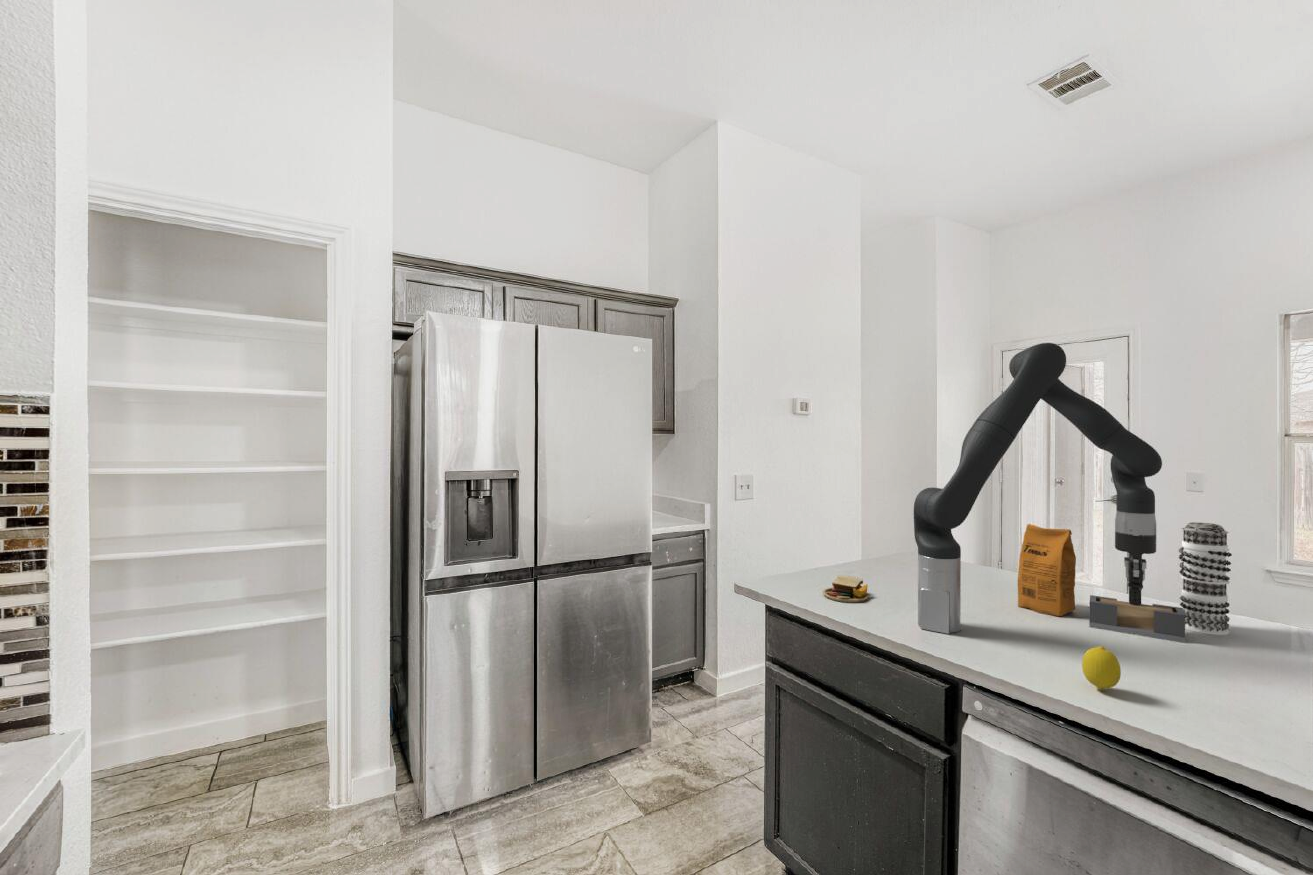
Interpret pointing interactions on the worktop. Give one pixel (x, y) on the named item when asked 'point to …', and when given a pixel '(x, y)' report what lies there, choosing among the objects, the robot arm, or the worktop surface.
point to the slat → (1135, 614)
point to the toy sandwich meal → (847, 589)
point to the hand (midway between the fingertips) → (1134, 604)
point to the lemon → (1101, 668)
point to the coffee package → (1047, 571)
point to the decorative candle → (1205, 578)
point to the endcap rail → (1164, 627)
